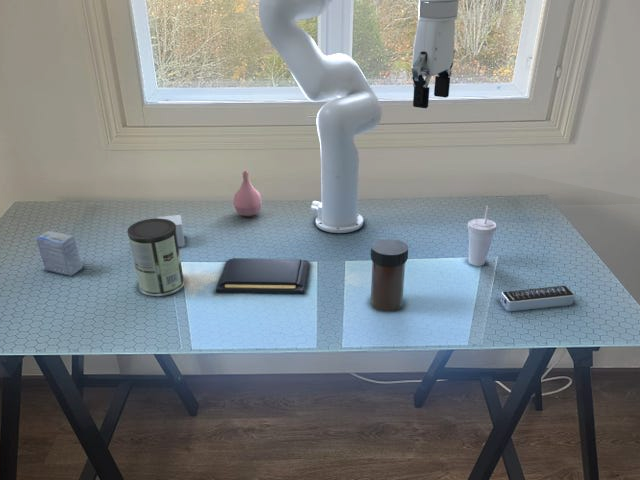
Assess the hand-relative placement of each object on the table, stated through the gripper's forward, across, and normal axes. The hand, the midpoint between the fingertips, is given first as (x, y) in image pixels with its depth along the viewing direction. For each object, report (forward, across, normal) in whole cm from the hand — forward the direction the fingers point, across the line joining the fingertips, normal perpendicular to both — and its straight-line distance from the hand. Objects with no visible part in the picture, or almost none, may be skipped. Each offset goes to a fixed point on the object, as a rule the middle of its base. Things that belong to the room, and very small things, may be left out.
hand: (431, 101), depth 136 cm
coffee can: (+35, +46, -42) cm, 71 cm away
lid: (+22, +25, +5) cm, 34 cm away
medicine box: (+34, +53, -67) cm, 92 cm away
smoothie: (+36, -3, +13) cm, 38 cm away
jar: (+35, +25, +5) cm, 43 cm away
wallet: (+35, +30, -24) cm, 52 cm away
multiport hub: (+36, +7, +31) cm, 48 cm away
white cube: (+35, +28, -55) cm, 71 cm away
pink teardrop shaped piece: (+35, +4, -50) cm, 61 cm away
